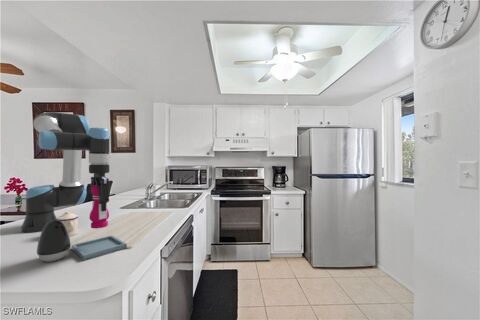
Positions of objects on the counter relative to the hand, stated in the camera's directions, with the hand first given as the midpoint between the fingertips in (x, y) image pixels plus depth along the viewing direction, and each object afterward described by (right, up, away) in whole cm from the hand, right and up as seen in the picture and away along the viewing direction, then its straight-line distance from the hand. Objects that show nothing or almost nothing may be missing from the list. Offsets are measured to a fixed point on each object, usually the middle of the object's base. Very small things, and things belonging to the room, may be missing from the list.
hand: (99, 216), depth 97 cm
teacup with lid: (-26, -14, +17) cm, 34 cm away
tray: (0, -14, 0) cm, 14 cm away
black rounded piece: (-12, -14, -9) cm, 21 cm away
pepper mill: (0, -4, 0) cm, 4 cm away
